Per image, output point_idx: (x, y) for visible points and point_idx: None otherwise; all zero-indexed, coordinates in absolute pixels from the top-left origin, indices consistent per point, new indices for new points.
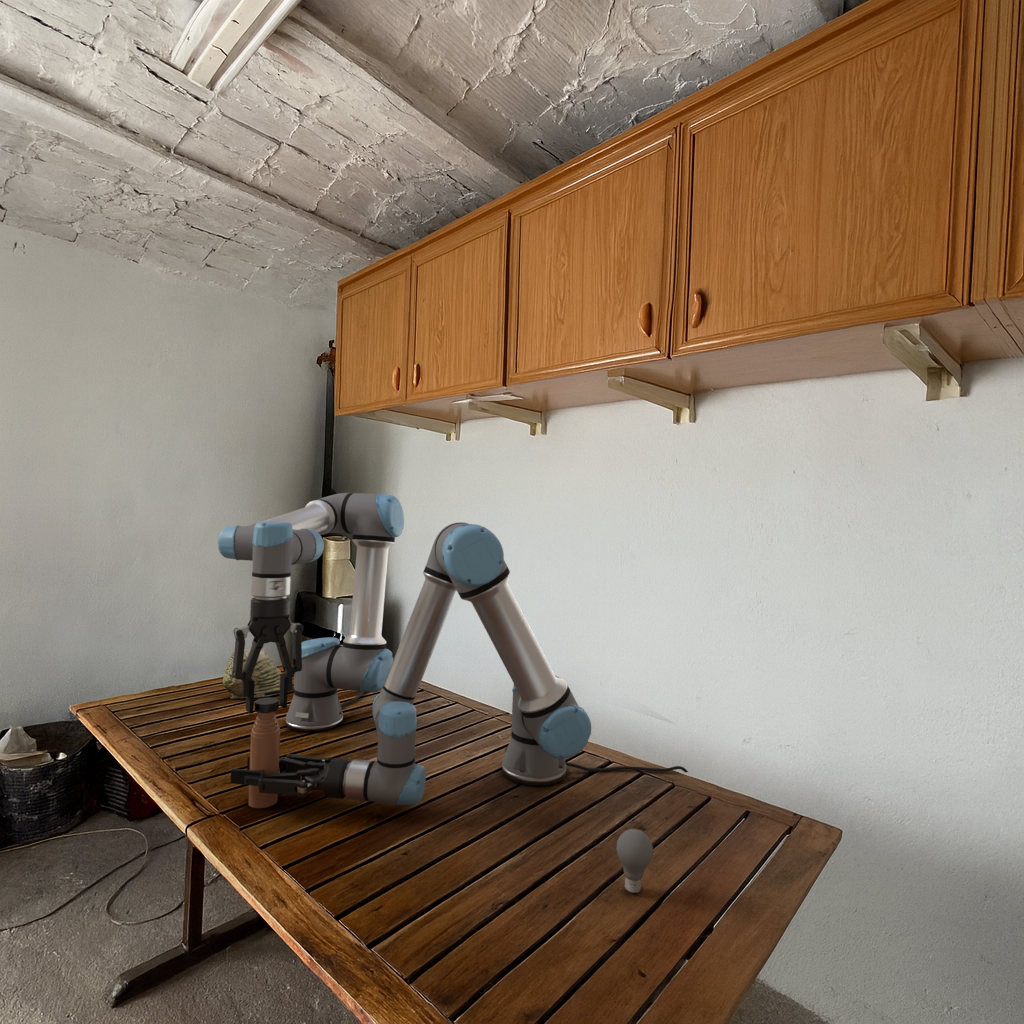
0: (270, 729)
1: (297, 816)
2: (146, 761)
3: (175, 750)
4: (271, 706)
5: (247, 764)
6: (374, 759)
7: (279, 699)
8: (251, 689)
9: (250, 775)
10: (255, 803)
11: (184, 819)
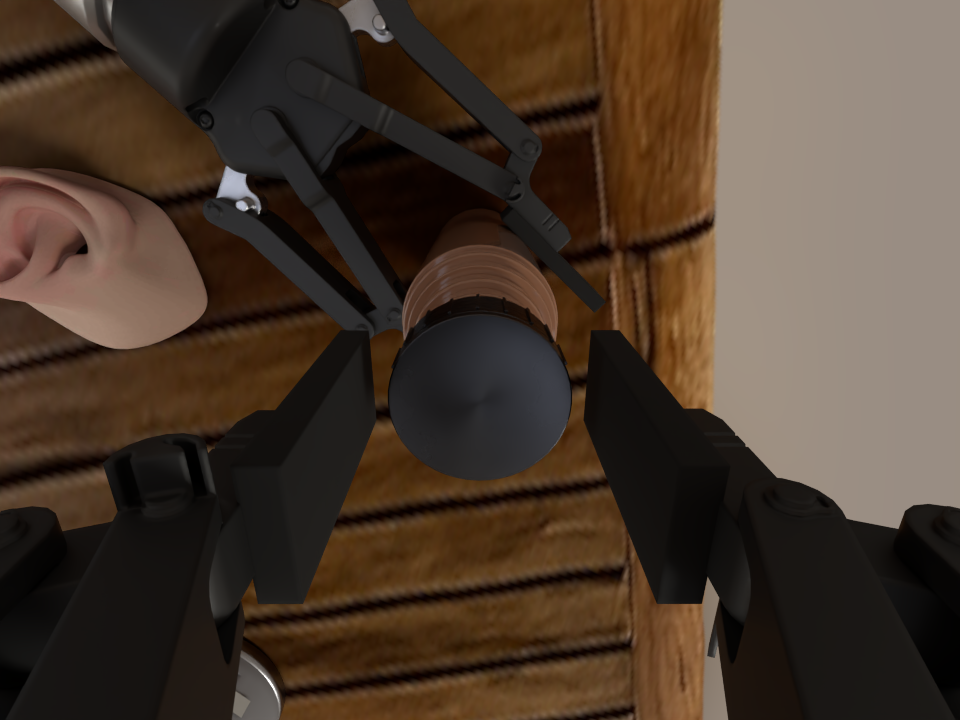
0: (474, 264)
1: (412, 83)
2: (668, 645)
3: (588, 674)
4: (469, 308)
5: None
6: (46, 280)
7: (368, 435)
8: (679, 414)
9: (547, 239)
10: None
11: (707, 269)
